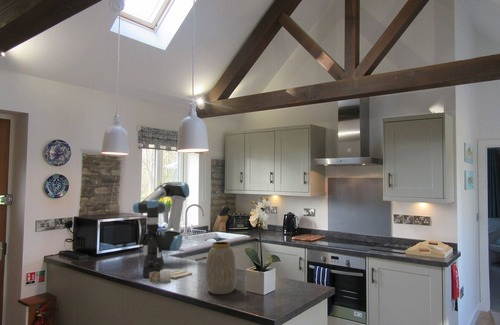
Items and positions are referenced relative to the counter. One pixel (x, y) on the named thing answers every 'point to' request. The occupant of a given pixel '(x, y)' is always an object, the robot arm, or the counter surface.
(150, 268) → the camera
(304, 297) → the counter surface
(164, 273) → the white short cylinder
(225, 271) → the vase
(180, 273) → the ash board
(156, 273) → the beech block
